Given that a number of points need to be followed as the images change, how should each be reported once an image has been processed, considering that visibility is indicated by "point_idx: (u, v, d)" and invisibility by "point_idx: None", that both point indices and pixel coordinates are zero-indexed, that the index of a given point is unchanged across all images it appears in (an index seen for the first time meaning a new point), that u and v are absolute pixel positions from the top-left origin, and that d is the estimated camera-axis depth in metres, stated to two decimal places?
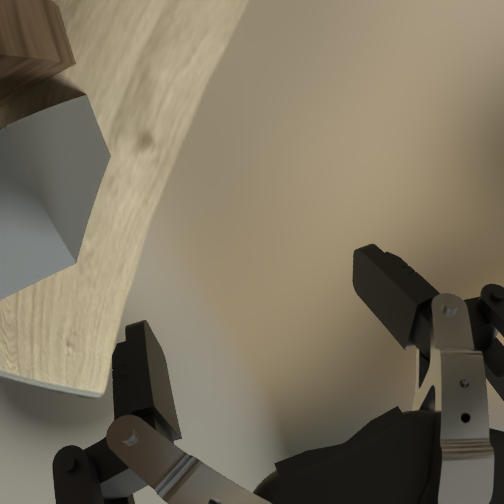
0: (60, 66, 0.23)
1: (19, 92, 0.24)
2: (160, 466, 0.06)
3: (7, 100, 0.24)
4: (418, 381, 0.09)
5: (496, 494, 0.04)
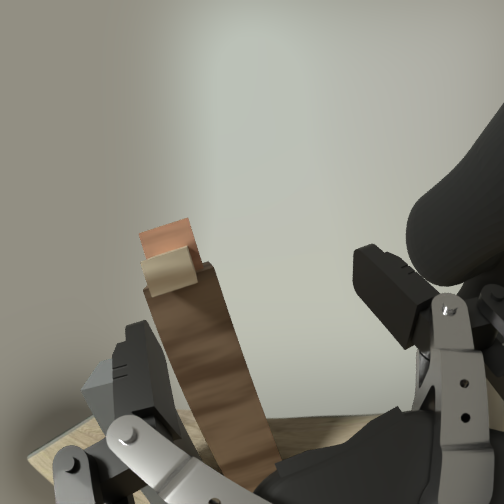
0: None
1: None
2: (160, 466, 0.06)
3: None
4: (418, 381, 0.09)
5: (497, 494, 0.04)
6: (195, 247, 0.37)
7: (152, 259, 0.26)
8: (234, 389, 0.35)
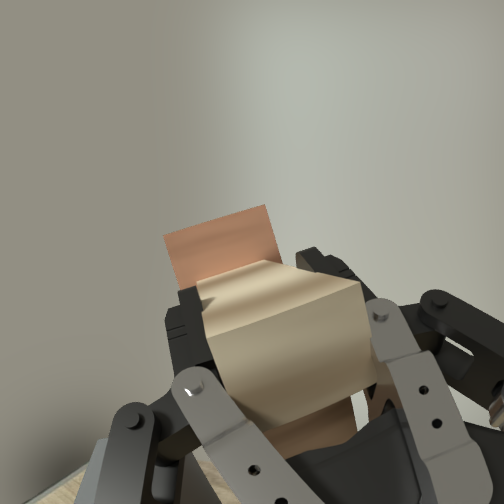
0: None
1: None
2: (215, 422, 0.07)
3: None
4: (367, 392, 0.09)
5: (496, 494, 0.04)
6: (279, 263, 0.19)
7: (250, 327, 0.07)
8: None
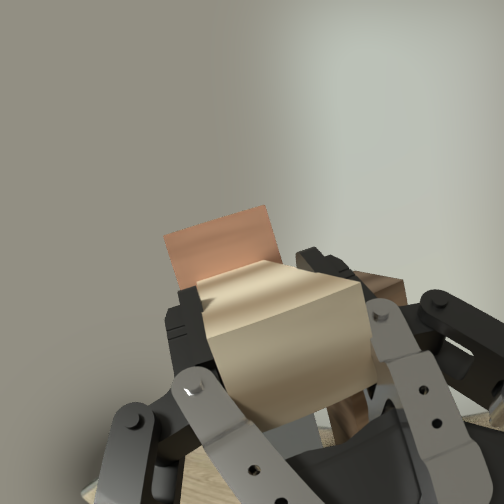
0: None
1: None
2: (215, 422, 0.07)
3: None
4: (367, 392, 0.09)
5: (496, 494, 0.04)
6: (279, 264, 0.19)
7: (251, 327, 0.07)
8: None
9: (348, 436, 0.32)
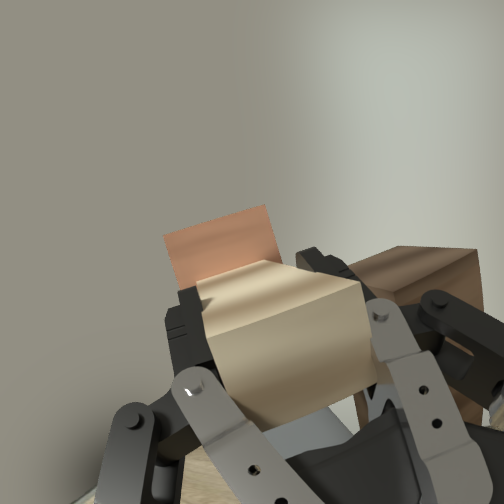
0: None
1: None
2: (215, 422, 0.07)
3: None
4: (367, 392, 0.09)
5: (496, 494, 0.04)
6: (279, 263, 0.19)
7: (250, 327, 0.07)
8: None
9: None
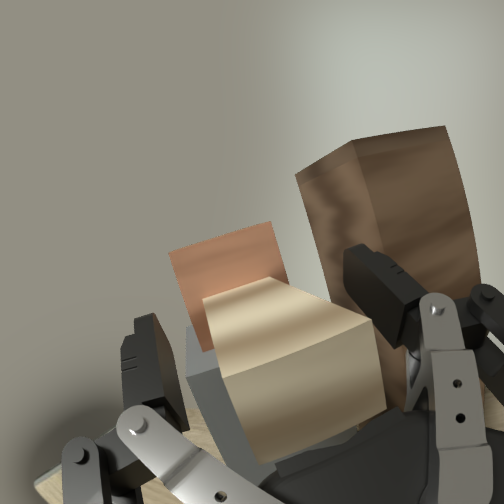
0: None
1: None
2: (169, 457, 0.06)
3: None
4: (409, 382, 0.09)
5: (497, 494, 0.04)
6: (284, 280, 0.19)
7: (265, 366, 0.07)
8: None
9: None
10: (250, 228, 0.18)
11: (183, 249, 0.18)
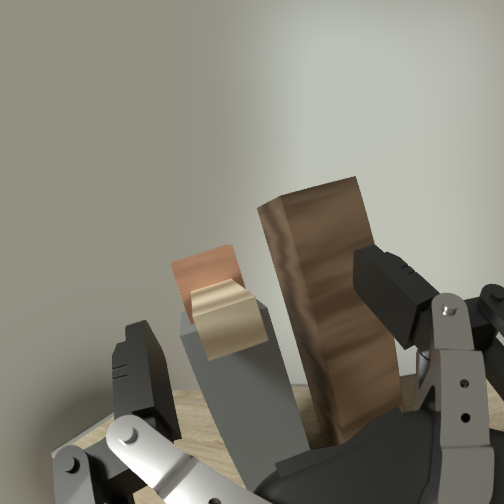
0: (342, 442, 0.31)
1: (326, 430, 0.37)
2: (160, 466, 0.06)
3: (322, 425, 0.39)
4: (418, 381, 0.09)
5: (496, 494, 0.04)
6: (241, 281, 0.31)
7: (209, 313, 0.19)
8: (371, 321, 0.31)
9: (315, 359, 0.33)
10: (219, 249, 0.30)
11: (179, 262, 0.30)
